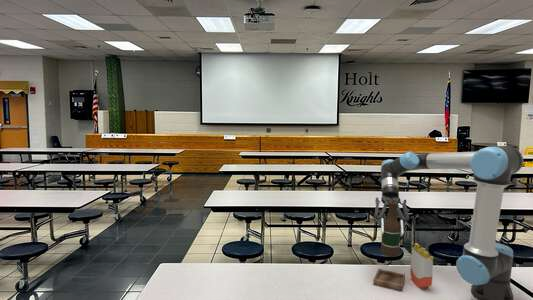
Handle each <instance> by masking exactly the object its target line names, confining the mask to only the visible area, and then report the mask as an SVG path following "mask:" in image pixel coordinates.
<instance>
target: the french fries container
mask: <svg viewBox="0 0 533 300" xmlns="http://www.w3.org/2000/svg"><path fill="white" fill-rule="evenodd" d="M433 265H434V256H432V255H431V256H430V253H429V252H428V251H426V248H425V247H421V245H419V243H417V242H416V243H415V242H414V245H413V247H412V248H411V260H410V269H409V271H410V273H409V274H410V278H411V281H412V283H413V284H414V285H415V286H416V287H417V288H419V289H420V288H423V289H425V288H430V287H431V286H433V285H432V284H433V270H434V269H433V268H434V267H433Z"/></svg>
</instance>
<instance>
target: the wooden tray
mask: <svg viewBox="0 0 533 300" xmlns="http://www.w3.org/2000/svg"><path fill="white" fill-rule="evenodd" d="M405 281H406V274H404V273H400V272H394V271H390V270H385V269H382V268H381V269H380V268H377V271H376V273H375V276H374V277H373V283H372V285H373V286H378V287H380V288H385V289H389V290H394V291H397V292H401V293H402V292H403V289H404V285H405Z"/></svg>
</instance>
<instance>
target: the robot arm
mask: <svg viewBox="0 0 533 300" xmlns="http://www.w3.org/2000/svg"><path fill="white" fill-rule="evenodd" d="M380 165H381V167H380V173H381V174H380V175H381V177H380V178H381V197H380V198H379V197H375V207H374V208H375V209H374V218H373V219H376V220H377V223H378V227H380V234H381V235H382V234H383V233H384V225H383V224H384V218H383V216H384V214H385V211H386V210H387V208H389V202H390V201H395V202H397V204H398V205H397V217H399V219H400V220H399V224H400V237H403V235H404V232H405V231H404V229H406V222H409V221H410V215H409V211H408V208H407V199H401V198H400V193H399V192H400V191H399V177H400V176H402V175H403V174H405V173H406V172H411V171H417V170H470V171H472V173H473V181H474V182H475V184H476V185H477V186H476V191H475V199H474V206H473V212H472V213H473V214H472V219H471V226H470V233H469V240H468V242H466V243H464V245H463V251H462V255H461V256H459V257H458V259H456V264H455V266H456V270H457V272H458V275H460V277H461V278H462V279H463V280H464V281H465V282H467V283H468V284H470V285H471V286H470V293H471V295H472V296H473V297H474V298H476V299H477V300H514V294H513V290H512V286H511V277H512V268H513V259H514V250H513V249H512V248H511V247H510V246H508V245H506V244H502V243H499V242H496V240H497V233H498V228H499V220H500V214H501V208H502V202H503V195H504V190H505V188H507V187H508V186H510V184H511V177H512V175H515V174H516V173H518V172H520V170H521V169H522V167H523V165H524V156H523V154H522V153H521V152H520V150H519V149H518V148H515V147H513V146H510V145H497V146H496V145H495V146H486V147H484V148H480V149H479V150H477V151H461V152H459V151H458V152H457V151H456V152H433V153H432V152H431V153H420V154H419V153H418V154H415V153H414V152H412V151H408V152H406V153H403V154H402V155H400V156H399V157H397V158H396V159H385V160H383V161H382V162H381V164H380ZM381 202H382V204H383V207H382V209H381V210H380V212H379V206H380V203H381ZM399 204H400V205H401V207H402V210H403V212H402V210H401V208H400V205H399ZM378 214H379V215H378Z"/></svg>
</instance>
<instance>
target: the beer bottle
mask: <svg viewBox="0 0 533 300" xmlns="http://www.w3.org/2000/svg"><path fill="white" fill-rule="evenodd" d="M397 205H399V204H397V202H395V201H390V202H389V207H388V211H387V212H388V213H387V217H386V219H385V221H383V225H384V233H383V234H381V240H380V241H381V243H380V253H381V254H382V255H383V256H386V257H390V258H394V257H395V258H396V257H398V256H399V254H400V245H401V244H400V242H401V232H400V221H398V214H397Z"/></svg>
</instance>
